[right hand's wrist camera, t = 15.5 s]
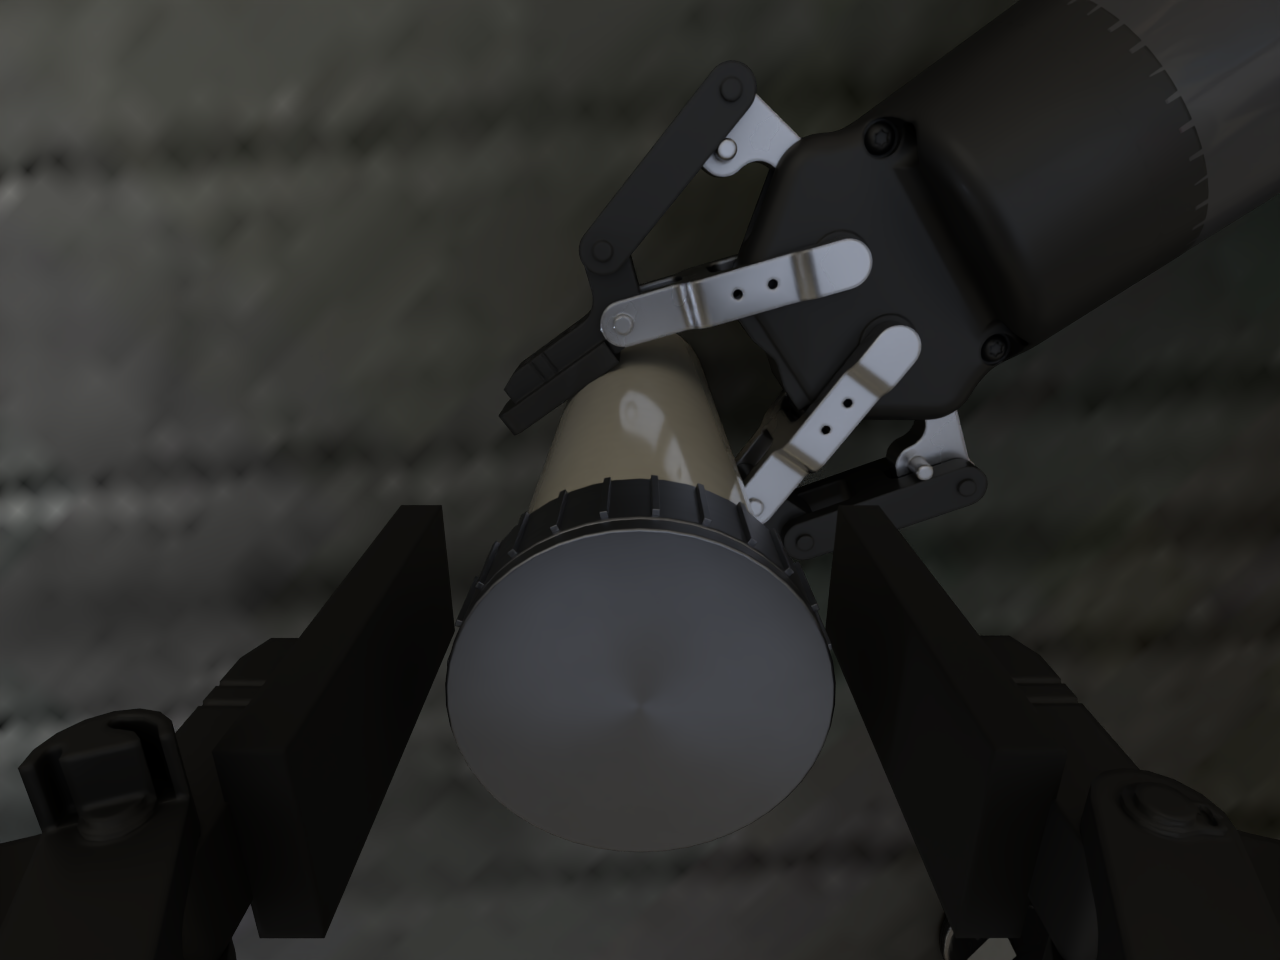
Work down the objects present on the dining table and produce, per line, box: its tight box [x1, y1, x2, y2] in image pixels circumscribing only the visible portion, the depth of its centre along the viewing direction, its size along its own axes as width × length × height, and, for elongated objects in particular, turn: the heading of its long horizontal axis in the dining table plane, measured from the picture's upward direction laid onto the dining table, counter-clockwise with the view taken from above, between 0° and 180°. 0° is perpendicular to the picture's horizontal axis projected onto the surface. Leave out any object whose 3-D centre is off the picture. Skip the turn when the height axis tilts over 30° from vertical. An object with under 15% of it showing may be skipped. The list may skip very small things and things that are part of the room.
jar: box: [528, 333, 755, 517], centre depth 19 cm, size 5×5×18 cm
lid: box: [445, 475, 836, 852], centre depth 11 cm, size 6×6×2 cm
